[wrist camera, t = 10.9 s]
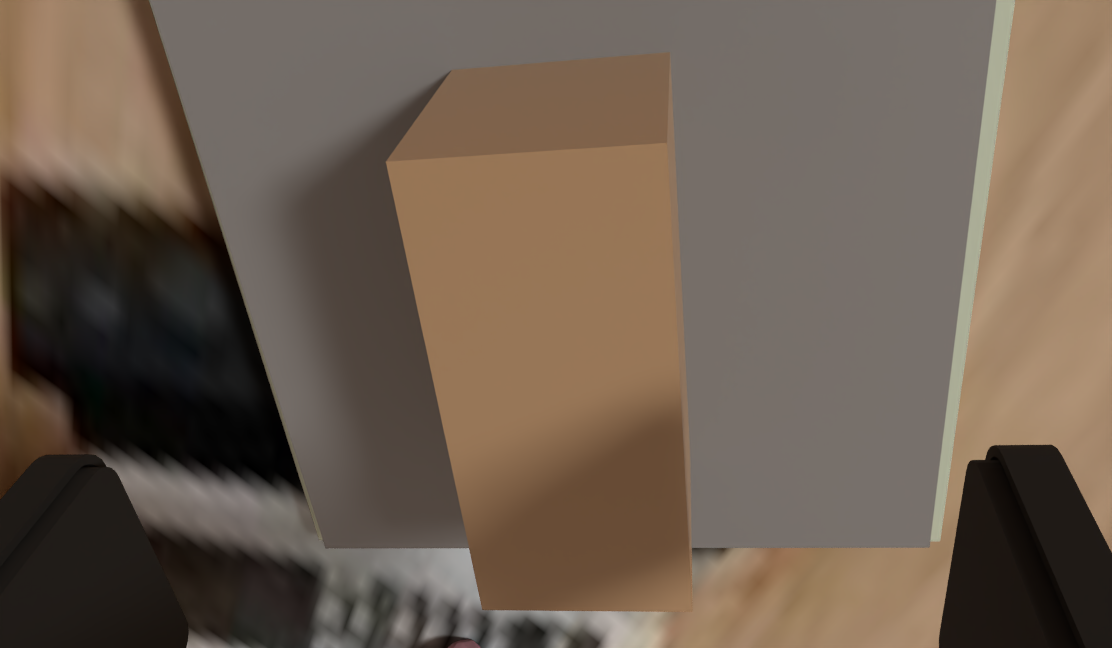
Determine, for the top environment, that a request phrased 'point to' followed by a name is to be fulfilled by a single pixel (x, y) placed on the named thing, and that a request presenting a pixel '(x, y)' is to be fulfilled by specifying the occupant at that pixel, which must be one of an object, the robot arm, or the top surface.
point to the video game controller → (464, 644)
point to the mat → (973, 247)
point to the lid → (598, 269)
